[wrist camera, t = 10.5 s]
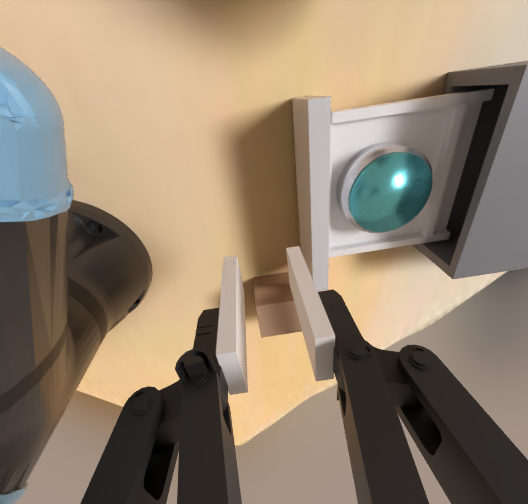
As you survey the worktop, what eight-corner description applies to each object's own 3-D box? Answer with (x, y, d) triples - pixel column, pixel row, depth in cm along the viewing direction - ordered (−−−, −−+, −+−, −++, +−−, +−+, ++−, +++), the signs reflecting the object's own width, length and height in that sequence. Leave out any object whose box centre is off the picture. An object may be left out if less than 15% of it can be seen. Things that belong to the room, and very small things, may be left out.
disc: (333, 227, 27) (343, 241, 25) (338, 147, 23) (350, 154, 20) (408, 218, 27) (424, 230, 25) (427, 136, 23) (449, 142, 20)
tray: (300, 259, 30) (313, 292, 25) (291, 98, 22) (308, 99, 17) (433, 239, 31) (470, 267, 26) (478, 71, 22) (548, 64, 17)
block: (258, 307, 34) (261, 337, 30) (253, 277, 31) (255, 306, 27) (295, 301, 34) (303, 330, 30) (293, 271, 31) (301, 299, 27)
